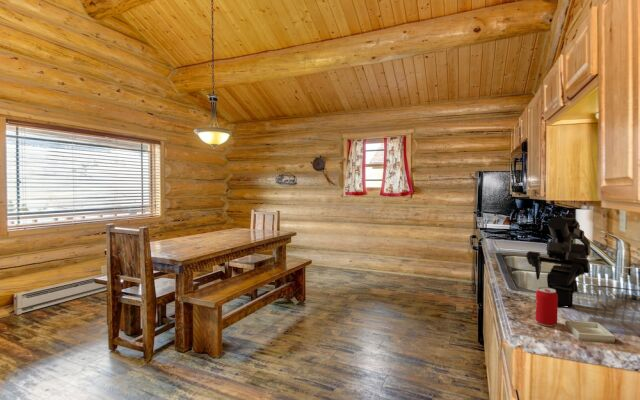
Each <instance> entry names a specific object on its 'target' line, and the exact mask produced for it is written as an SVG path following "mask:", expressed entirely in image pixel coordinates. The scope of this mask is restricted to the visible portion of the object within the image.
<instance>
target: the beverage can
mask: <svg viewBox="0 0 640 400" xmlns="http://www.w3.org/2000/svg"><path fill="white" fill-rule="evenodd" d="M558 308H559V307H558V295H557V293H556V290H554V289H552V288H548V286H542V287H541V286H540V287H538V288H537V290H536V294H535V322H537V323H538V324H539V325H541V326H544V327H554V326H556V325H558Z"/></svg>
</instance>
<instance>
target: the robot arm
mask: <svg viewBox="0 0 640 400" xmlns="http://www.w3.org/2000/svg"><path fill="white" fill-rule="evenodd" d="M547 226H548V229H549V232H550V235H551V236H552V240H551V241H547V243H546V255H547V256H544V255H543V256H542V255H541V252H539V251H532V250H529V251H528V252H526V255H525V257H526V260H527V263H528V264H529V265H531V266H532V267H534V268H535V269H534V270H535V277H536V280H540V276H541V270H542V262H543V263H549V264H554V265H553V266H552V268H551V269H550V271H549V272H547V276H546V281H547V288H552V289H554V290H556V293H557V295H558V308H562V307H561V306H568V307H575V306H574V304H573V301H574V300H573V299H574V297H573V296H574V293H578V283H577V280H576V278H578V277H579V276H581V275H585V274H589V273H590V270H591V268H590V267H591V265H590V261H589V259H588V257H590V255H591V242H590V240H589V239H588V238H587V237H586V236H585V231H584V230H582V229H581V228H580V227H581V225H580V222H579V221H578V220H577V218H571V217H564V216H563V215H561V214H559V215H558V214H557V215H556V217H553V218H550V219H549V220H548V221H547ZM572 239H574V240H580V241H581V242H582V243H575V242H574V243H573V242H572ZM568 307H567V308H568ZM575 308H576V307H575Z"/></svg>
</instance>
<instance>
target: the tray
mask: <svg viewBox="0 0 640 400" xmlns="http://www.w3.org/2000/svg"><path fill="white" fill-rule="evenodd" d="M564 322H565V323H564V326H565V328H566V329H567V330H568V331H570V333H571V334H572V335H574V337H575V338H576V339H577V340H579V341H587V342H589V341H590V342H601V343H603V342H604V343H612V344H613V343H614V344H615V342H616V341H615V339H616V336H615V335H614V334H613V333H611V332H610V331H609V330H608V329H607V328H605V327H604V326H603V325H602V324H600V323H599V322H594V321H592V322H591V321H580V320H579V321H578V320H577V321H576V320H564Z"/></svg>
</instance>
